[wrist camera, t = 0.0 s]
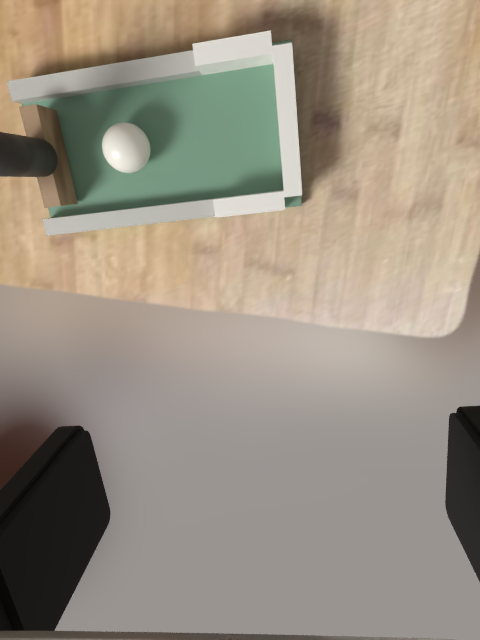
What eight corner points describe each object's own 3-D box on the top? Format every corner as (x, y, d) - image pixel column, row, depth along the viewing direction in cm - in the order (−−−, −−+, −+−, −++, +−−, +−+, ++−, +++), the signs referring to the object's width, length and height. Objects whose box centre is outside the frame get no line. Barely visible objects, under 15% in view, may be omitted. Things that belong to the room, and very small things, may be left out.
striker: (32, 114, 37) (-68, 87, 26) (64, 109, 36) (-25, 80, 26) (55, 206, 39) (-28, 216, 29) (85, 202, 39) (11, 211, 28)
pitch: (23, 87, 38) (-5, 77, 34) (290, 43, 34) (291, 27, 31) (59, 232, 42) (37, 237, 38) (301, 204, 38) (303, 207, 35)
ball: (108, 128, 37) (88, 123, 33) (151, 122, 36) (136, 116, 33) (118, 175, 38) (99, 175, 34) (159, 170, 38) (146, 169, 34)
